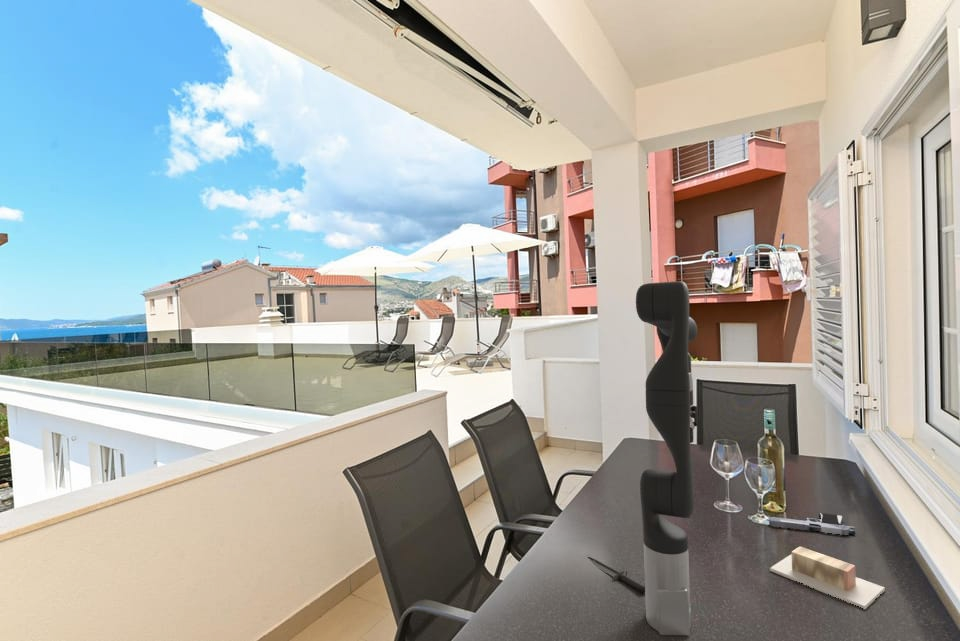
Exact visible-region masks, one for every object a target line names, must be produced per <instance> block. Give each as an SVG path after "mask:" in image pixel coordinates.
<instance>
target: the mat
mask: <svg viewBox="0 0 960 641" xmlns="http://www.w3.org/2000/svg"><path fill="white" fill-rule="evenodd" d="M769 571H770V572H772V573H774V574H777V575H779V576H781V577H784V578H786V579H789V580H792V581H794V582H796V581H797V582H796V583H799V582H800V584H801V583H803V584H802V585H803V586H806V585H807V587H808V586H809V588H810V589H811V588H812V589H813V588H814V589H813V590H816V591H818V592H821V593H823V594H825V595H828V594H829V595H828V596H830V595H831V597H833V598H835V597H836V599H838V598H839V599H838V600H840V599H841V600H840V601H843V600H844V601H843V602H845V601H846V602H845V603H848V604H850V603H851V604H850V605H852V604H854V605H853V606H855V605H856V606H855V607H857V606H859V607H858V608H860V607H861V608H860V609H862V608H863V609H862V610H866V609H868V607H869V606H870V605H872V604H873V603H874V602H875V601H876V600H877V599H878V598H879V597H880V596H881V595H882V594H883V593H884V592H885V589H886V588H885V586H882V585H879V584H876V583H874V582H871V581H868V580H865V579H863V578H860V577H857V576H856V585H855V586H853V587H852V588H851V589H850V590H849V591H846V590H844V589H841V588H839V587H836V586H833V585H831V584H828V583H826V582H823V581H821V580H818V579H815V578H813V577H810V576H808V575H805V574H803V573H800V572H797V571H795V570H792V553H791V554H789V555H788V556H786V557H785V558H782V559H781V560H780V561H778V562H776V564H774V565H772V566H771V567H770V568H769ZM880 594H881V595H880ZM876 598H877V599H876ZM875 599H876V600H875Z"/></svg>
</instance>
